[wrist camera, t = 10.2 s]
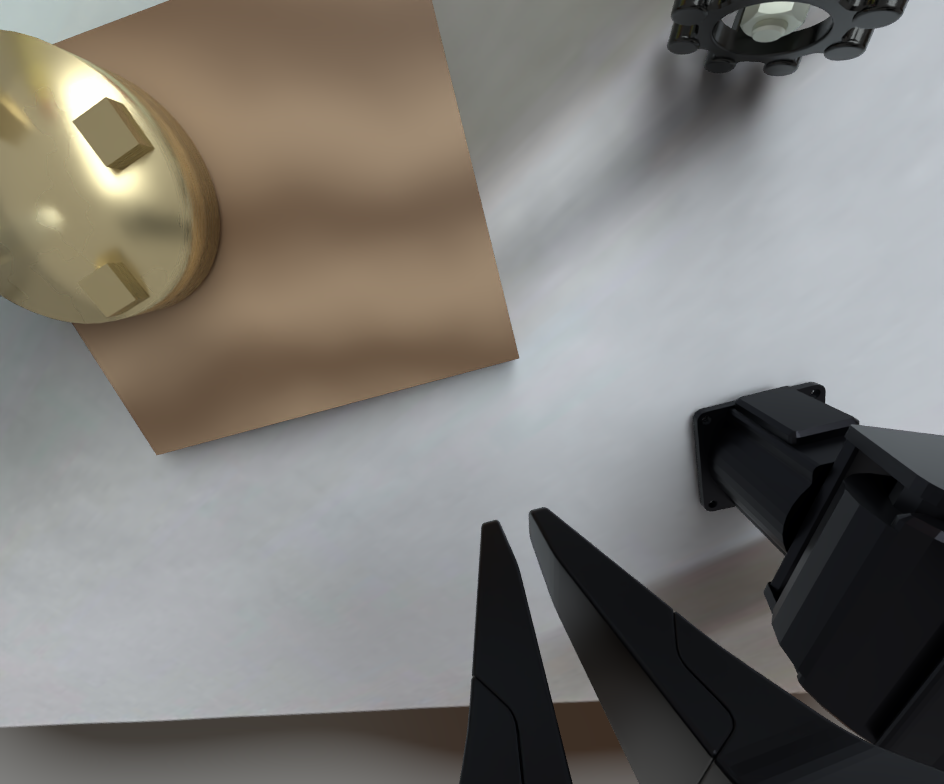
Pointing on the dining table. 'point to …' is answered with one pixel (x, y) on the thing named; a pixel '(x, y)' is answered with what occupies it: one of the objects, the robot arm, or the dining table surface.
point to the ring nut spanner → (95, 191)
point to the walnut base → (306, 215)
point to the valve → (776, 30)
